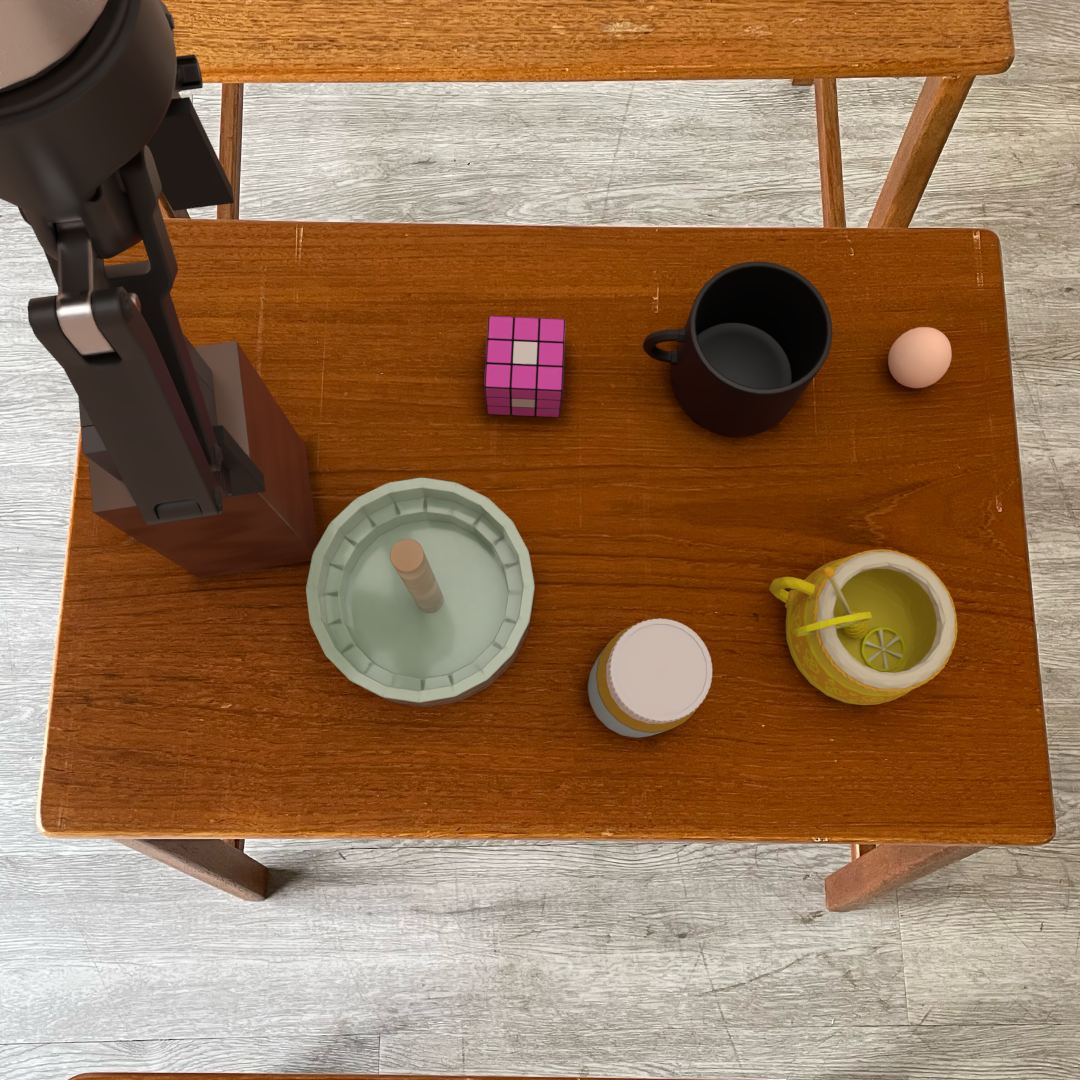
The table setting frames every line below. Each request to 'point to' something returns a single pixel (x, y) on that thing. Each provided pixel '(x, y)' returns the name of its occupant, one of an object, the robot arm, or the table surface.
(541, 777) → the table surface
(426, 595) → the stirring stick
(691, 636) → the bottle
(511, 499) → the table surface
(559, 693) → the table surface
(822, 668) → the mug
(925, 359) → the egg
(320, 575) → the bowl
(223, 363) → the utensil stand
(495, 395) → the puzzle toy
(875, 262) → the table surface
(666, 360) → the mug
